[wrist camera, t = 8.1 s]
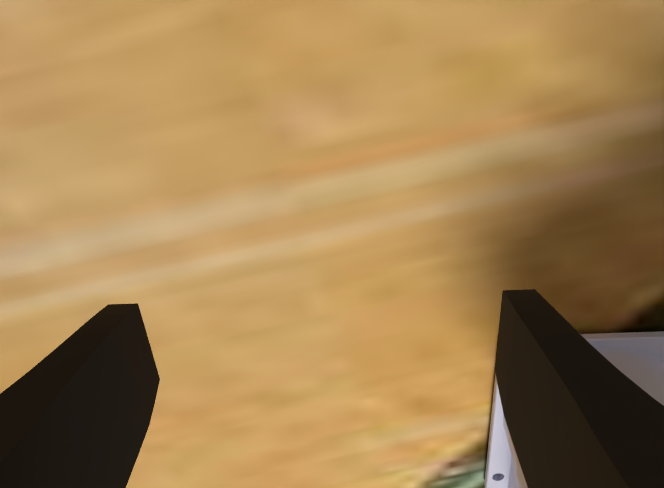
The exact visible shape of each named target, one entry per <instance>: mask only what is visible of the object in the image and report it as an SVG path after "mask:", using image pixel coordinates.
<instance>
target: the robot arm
mask: <svg viewBox="0 0 664 488" xmlns="http://www.w3.org/2000/svg"><path fill="white" fill-rule="evenodd" d="M495 373H496V374H495V384H494V394H493V404H492V414H491V423H490V433H489V443H488V453H487V463H486V473H485V483H484V486H485V488H664V331H660V332H629V333H597V334H579V333H578V332H577V331H576V330H575V329H574V328H573V327H572V326H571V325H570V324H569V323H568V322H567V321H566V320H565V319H564V318H563V317H562V316H561V315H560V314H559V313H558V312H557V311H556V310H555V309H554V308H553V307H552V306H551V305H550V304H549V303H548V302H547V301H546V300H545V299H544V298H543V297H542V296H541V295H540V294H539V293H538V292H537V291H536V290H535V289H531V290H503V293H502V303H501V313H500V323H499V333H498V343H497V353H496V363H495ZM159 380H160V378H159V375H158V371H157V368H156V364H155V361H154V358H153V354H152V351H151V347H150V344H149V340H148V337H147V333H146V330H145V326H144V323H143V320H142V316H141V313H140V309H139V306H138V304H113V305H107V306H106V307H105V308H103V309H102V310H101V311H99V312H98V313H97V314H96V315H95V316H93V317H92V318H91V319H90V320H89V321H87V322H86V323H85V324H84V325H83V326H82V327H80V328H79V329H78V330H77V331H76V332H75V333H74V334H72V335H71V336H70V337H69V338H68V339H67V340H65V341H64V342H63V343H62V344H61V345H60V346H58V347H57V348H56V349H55V350H54V351H53V352H51V353H50V354H49V355H48V356H47V357H45V358H44V359H43V360H42V361H41V362H40V363H38V364H37V365H36V366H35V367H34V368H32V369H31V370H30V371H29V372H28V373H26V374H25V375H24V376H23V377H21V378H20V379H19V380H17V381H16V382H15V383H14V384H12V385H11V386H10V387H8V388H7V389H6V390H5V391H3V392H2V393H1V394H0V488H126V485H127V483H128V480H129V477H130V475H131V472H132V470H133V467H134V464H135V462H136V459H137V456H138V454H139V451H140V448H141V446H142V443H143V440H144V438H145V435H146V432H147V430H148V427H149V424H150V420H151V416H152V412H153V408H154V403H155V399H156V394H157V390H158V385H159Z"/></svg>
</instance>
